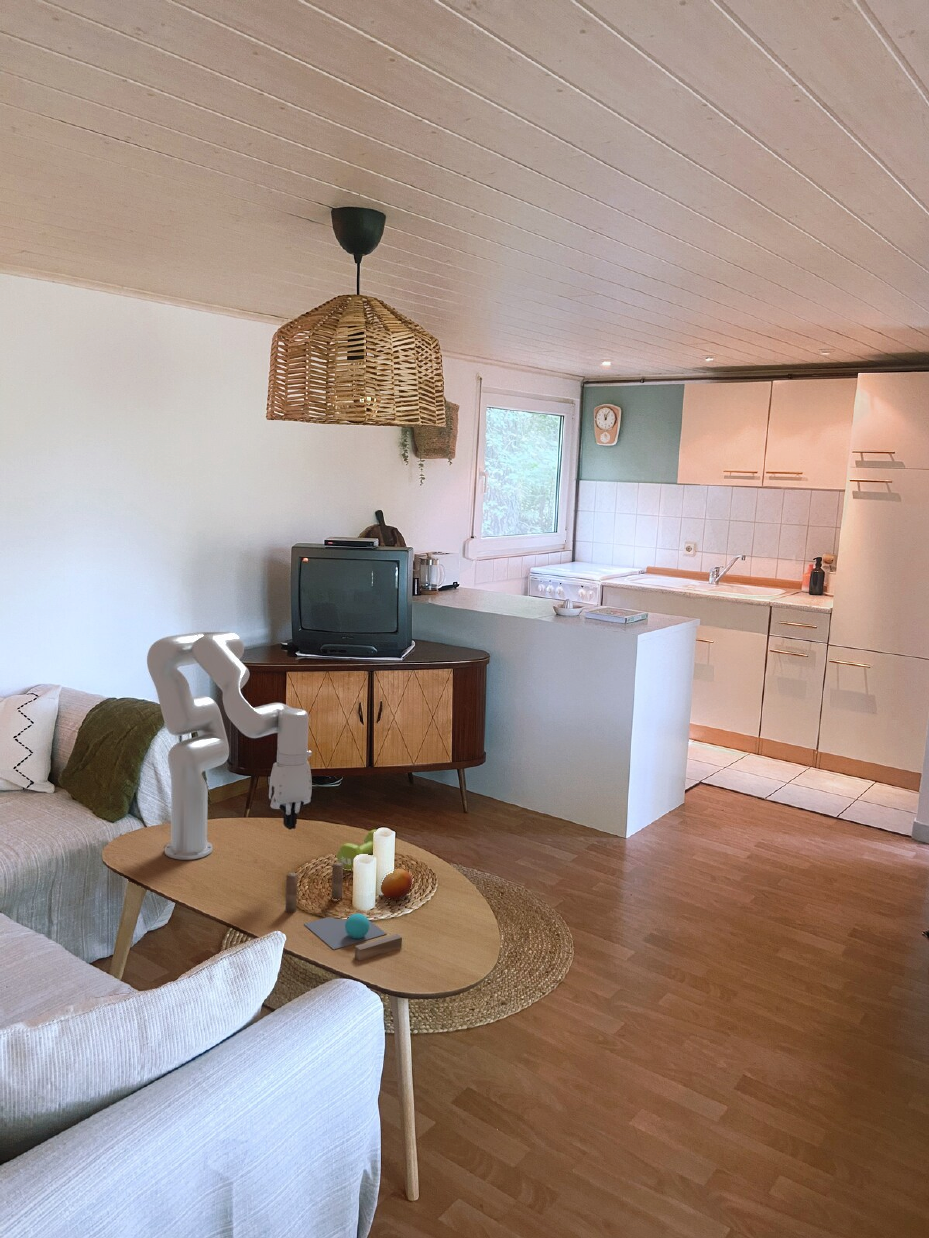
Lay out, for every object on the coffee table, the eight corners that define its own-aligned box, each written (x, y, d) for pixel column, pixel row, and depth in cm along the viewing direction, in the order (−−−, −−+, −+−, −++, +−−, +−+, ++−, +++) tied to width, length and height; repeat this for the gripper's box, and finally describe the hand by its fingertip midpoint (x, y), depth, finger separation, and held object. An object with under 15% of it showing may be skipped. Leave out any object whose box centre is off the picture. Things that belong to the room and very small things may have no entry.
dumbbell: (357, 876, 245) (358, 850, 244) (333, 868, 249) (334, 843, 248) (392, 856, 260) (393, 832, 259) (369, 850, 264) (370, 825, 263)
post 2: (329, 897, 231) (330, 863, 230) (338, 895, 233) (339, 861, 232) (334, 901, 229) (336, 867, 228) (343, 899, 231) (345, 865, 230)
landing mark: (303, 924, 217) (303, 923, 217) (355, 910, 225) (355, 909, 225) (333, 949, 206) (333, 948, 206) (386, 934, 214) (386, 933, 214)
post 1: (283, 909, 224) (284, 874, 222) (293, 907, 225) (294, 871, 224) (288, 913, 222) (289, 878, 220) (298, 911, 223) (299, 875, 222)
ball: (338, 926, 213) (345, 911, 210) (358, 921, 217) (365, 905, 214) (348, 946, 210) (355, 930, 207) (369, 940, 213) (376, 924, 210)
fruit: (414, 900, 230) (399, 871, 229) (387, 912, 231) (372, 883, 231) (422, 887, 237) (408, 859, 237) (396, 898, 239) (382, 871, 239)
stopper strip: (354, 956, 203) (355, 945, 203) (396, 943, 210) (397, 933, 210) (359, 960, 202) (359, 949, 202) (401, 947, 209) (402, 937, 208)
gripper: (311, 750, 241) (309, 817, 244) (258, 757, 232) (256, 827, 235) (325, 757, 235) (323, 827, 238) (271, 765, 226) (269, 837, 229)
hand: (289, 827), depth 236 cm, fingers closed
